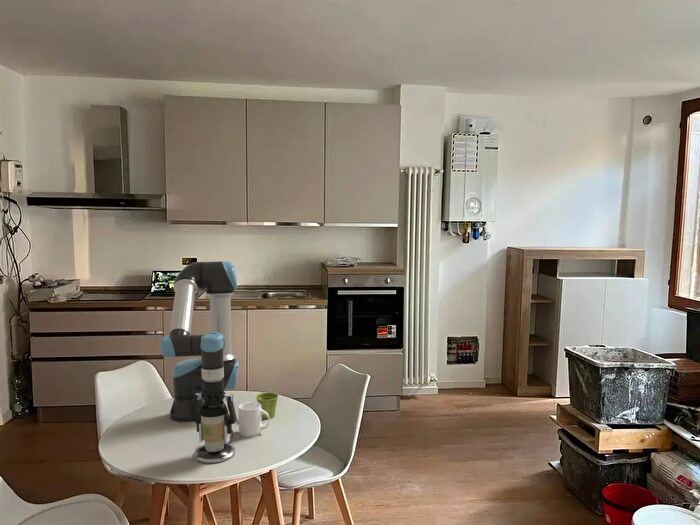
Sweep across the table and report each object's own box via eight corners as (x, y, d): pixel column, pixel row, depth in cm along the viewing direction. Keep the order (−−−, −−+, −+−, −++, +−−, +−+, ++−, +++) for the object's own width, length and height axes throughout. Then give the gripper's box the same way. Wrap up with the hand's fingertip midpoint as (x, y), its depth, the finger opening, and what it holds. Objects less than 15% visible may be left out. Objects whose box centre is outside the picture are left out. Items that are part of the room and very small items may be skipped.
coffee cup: (203, 442, 193) (201, 402, 191) (230, 441, 193) (229, 401, 192) (197, 454, 183) (196, 412, 181) (226, 453, 184) (225, 411, 182)
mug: (267, 437, 202) (267, 410, 201) (236, 436, 203) (235, 409, 202) (272, 428, 211) (271, 402, 210) (242, 427, 212) (241, 401, 211)
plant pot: (264, 410, 230) (264, 391, 229) (283, 414, 226) (282, 394, 225) (251, 418, 221) (251, 398, 221) (270, 422, 217) (270, 401, 217)
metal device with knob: (210, 439, 202) (210, 417, 201) (246, 441, 200) (245, 419, 199) (187, 464, 182) (186, 439, 182) (226, 467, 180) (225, 442, 180)
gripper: (179, 380, 184) (181, 443, 186) (238, 383, 180) (240, 447, 183) (188, 374, 191) (190, 435, 193) (246, 376, 188) (247, 438, 190)
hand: (214, 441), depth 188 cm, fingers closed on coffee cup, 9 cm apart
